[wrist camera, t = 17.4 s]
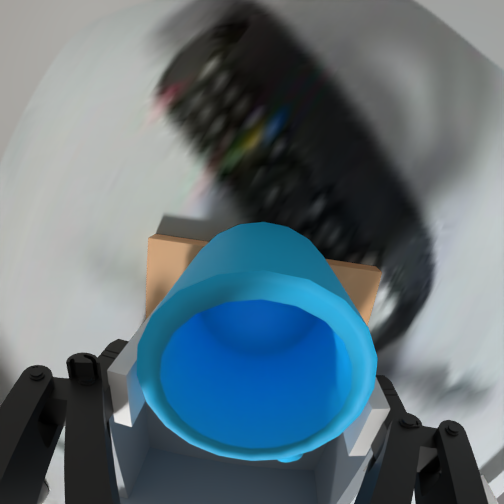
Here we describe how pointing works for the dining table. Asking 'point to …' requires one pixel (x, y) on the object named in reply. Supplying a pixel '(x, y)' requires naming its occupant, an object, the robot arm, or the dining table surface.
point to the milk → (488, 492)
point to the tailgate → (185, 250)
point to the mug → (257, 348)
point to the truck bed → (225, 471)
